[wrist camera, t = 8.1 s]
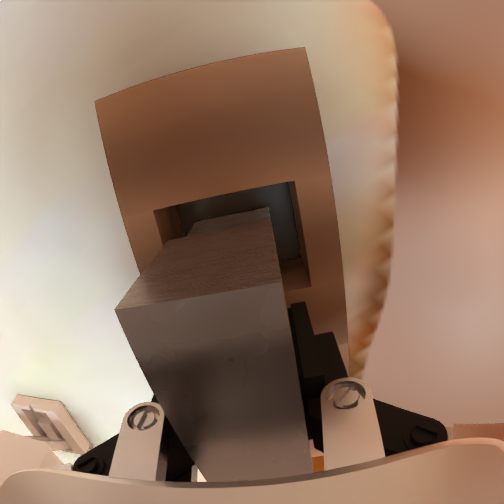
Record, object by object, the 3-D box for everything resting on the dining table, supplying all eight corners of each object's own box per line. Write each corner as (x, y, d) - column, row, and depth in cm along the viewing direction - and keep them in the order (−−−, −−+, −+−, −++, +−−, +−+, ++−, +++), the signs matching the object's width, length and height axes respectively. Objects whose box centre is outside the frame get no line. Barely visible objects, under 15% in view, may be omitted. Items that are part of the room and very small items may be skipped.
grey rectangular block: (193, 210, 13) (114, 309, 5) (266, 194, 13) (280, 282, 5) (244, 392, 16) (239, 525, 9) (300, 383, 16) (319, 517, 8)
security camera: (51, 445, 22) (15, 522, 12) (13, 393, 19) (-40, 474, 10) (103, 455, 21) (70, 546, 12) (65, 401, 19) (11, 503, 10)
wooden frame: (125, 106, 12) (94, 101, 10) (294, 65, 12) (304, 47, 9) (228, 431, 19) (225, 466, 16) (340, 414, 19) (349, 449, 16)
